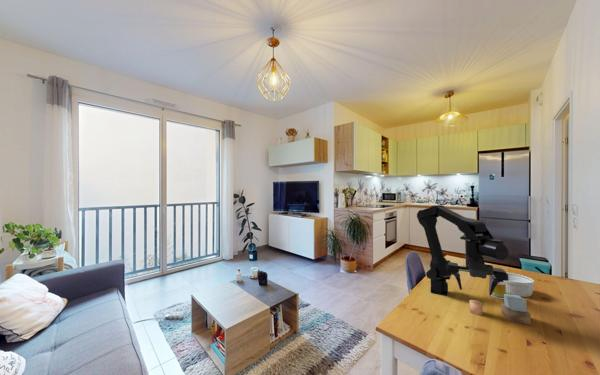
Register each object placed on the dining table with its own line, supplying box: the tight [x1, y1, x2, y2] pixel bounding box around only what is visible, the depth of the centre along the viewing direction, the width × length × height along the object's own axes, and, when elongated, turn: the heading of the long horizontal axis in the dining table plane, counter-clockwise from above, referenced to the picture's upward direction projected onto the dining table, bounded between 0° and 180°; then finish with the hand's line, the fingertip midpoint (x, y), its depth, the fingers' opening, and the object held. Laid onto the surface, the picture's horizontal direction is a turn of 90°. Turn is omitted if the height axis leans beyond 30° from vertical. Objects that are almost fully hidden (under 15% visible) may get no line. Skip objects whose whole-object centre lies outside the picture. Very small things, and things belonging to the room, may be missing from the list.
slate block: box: [503, 293, 528, 312], centre depth 83 cm, size 4×4×4 cm
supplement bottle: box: [490, 281, 507, 300], centre depth 100 cm, size 5×5×10 cm
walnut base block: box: [500, 303, 532, 325], centre depth 83 cm, size 6×6×4 cm
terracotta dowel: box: [468, 299, 484, 316], centre depth 87 cm, size 4×4×4 cm
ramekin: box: [503, 272, 535, 298], centre depth 105 cm, size 13×13×7 cm
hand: (475, 292), depth 87 cm, fingers open, 9 cm apart
